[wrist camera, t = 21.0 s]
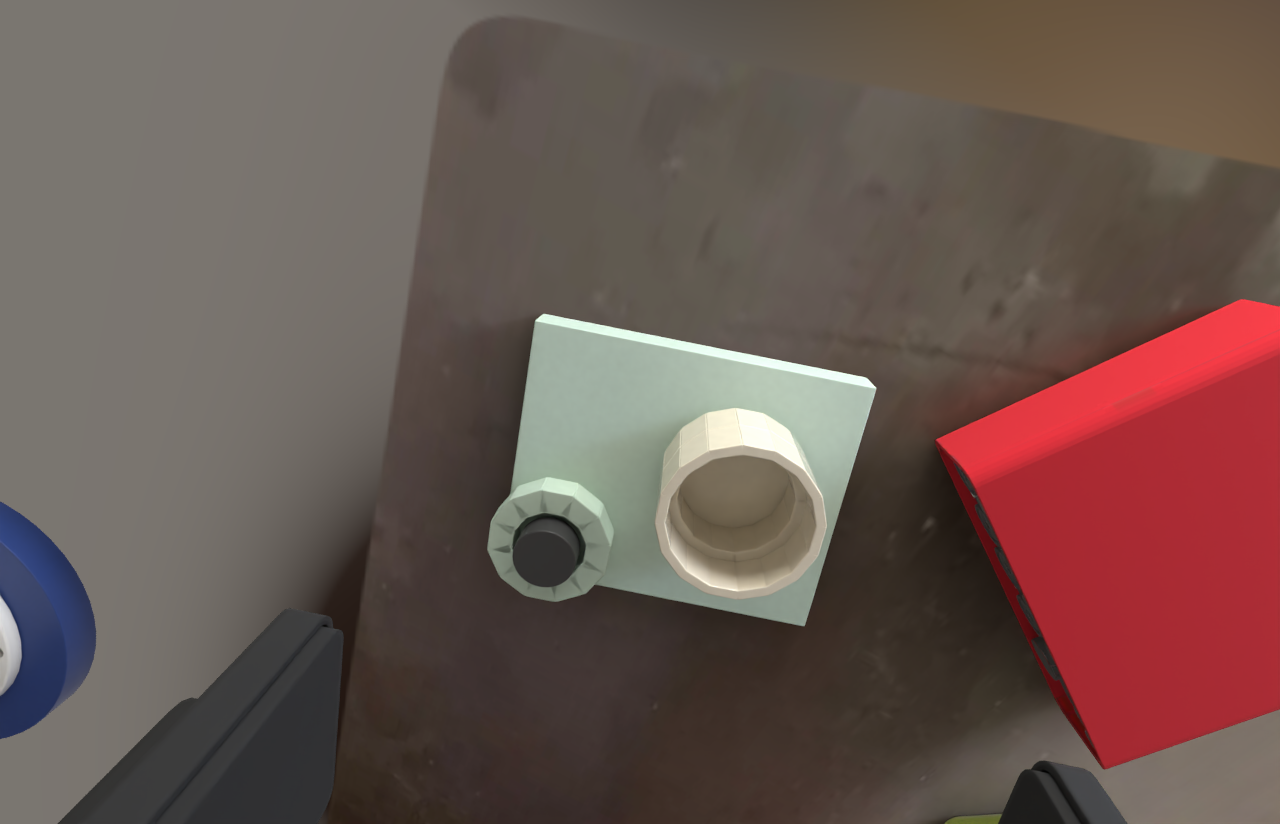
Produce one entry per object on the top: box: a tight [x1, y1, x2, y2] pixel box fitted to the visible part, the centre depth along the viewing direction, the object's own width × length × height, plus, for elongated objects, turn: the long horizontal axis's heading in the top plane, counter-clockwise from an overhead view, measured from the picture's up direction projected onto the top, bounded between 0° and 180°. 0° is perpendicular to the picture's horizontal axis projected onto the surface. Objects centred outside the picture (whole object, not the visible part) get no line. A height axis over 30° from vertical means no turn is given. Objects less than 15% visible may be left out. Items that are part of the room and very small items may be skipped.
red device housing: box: [935, 299, 1280, 770], centre depth 33 cm, size 18×14×5 cm
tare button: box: [512, 517, 580, 587], centre depth 34 cm, size 3×3×2 cm
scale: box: [487, 314, 876, 626], centre depth 35 cm, size 16×13×4 cm
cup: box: [655, 408, 827, 600], centre depth 32 cm, size 7×7×6 cm
